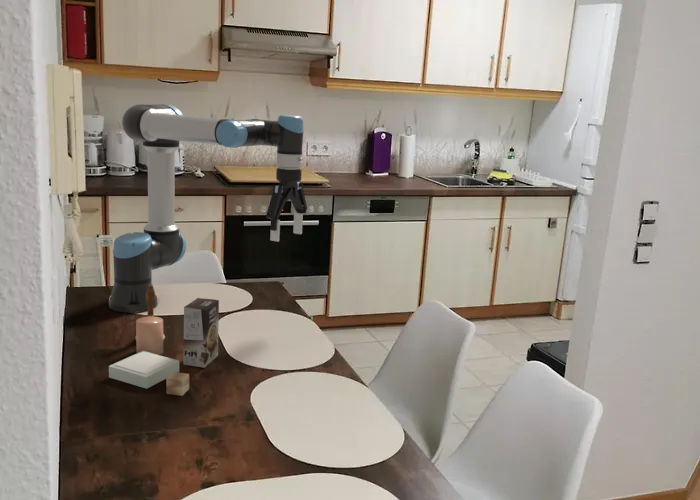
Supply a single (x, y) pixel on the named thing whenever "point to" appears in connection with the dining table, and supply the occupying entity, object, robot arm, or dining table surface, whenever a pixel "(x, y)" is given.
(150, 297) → the hand bell
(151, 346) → the peach upright cylinder
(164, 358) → the podium
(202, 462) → the dining table surface
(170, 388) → the beech block
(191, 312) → the coffee box
